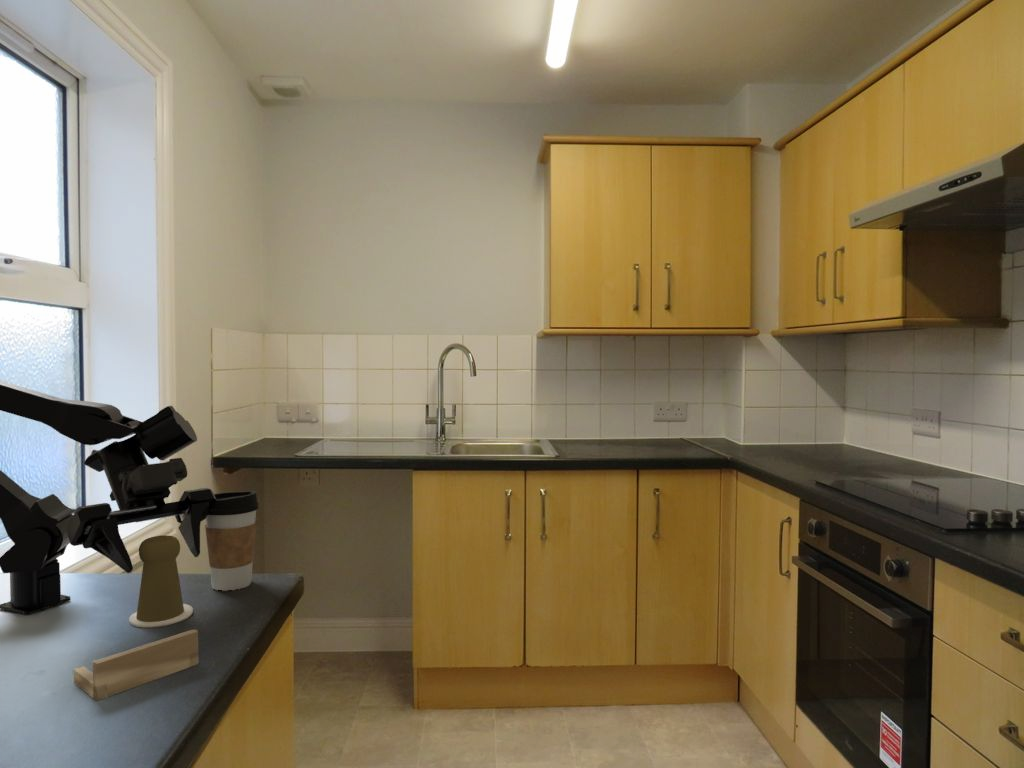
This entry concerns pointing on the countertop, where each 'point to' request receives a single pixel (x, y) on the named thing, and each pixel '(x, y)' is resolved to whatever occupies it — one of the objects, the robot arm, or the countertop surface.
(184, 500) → the robot arm
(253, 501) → the coffee cup
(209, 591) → the countertop surface
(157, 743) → the countertop surface
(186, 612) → the saucer
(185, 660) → the holder
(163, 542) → the cork
